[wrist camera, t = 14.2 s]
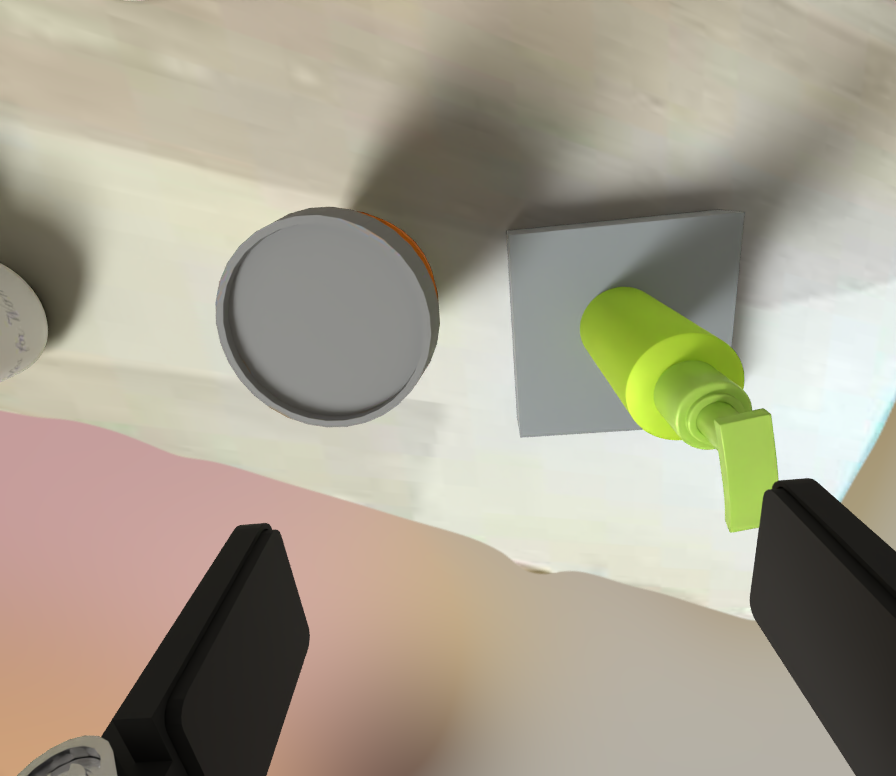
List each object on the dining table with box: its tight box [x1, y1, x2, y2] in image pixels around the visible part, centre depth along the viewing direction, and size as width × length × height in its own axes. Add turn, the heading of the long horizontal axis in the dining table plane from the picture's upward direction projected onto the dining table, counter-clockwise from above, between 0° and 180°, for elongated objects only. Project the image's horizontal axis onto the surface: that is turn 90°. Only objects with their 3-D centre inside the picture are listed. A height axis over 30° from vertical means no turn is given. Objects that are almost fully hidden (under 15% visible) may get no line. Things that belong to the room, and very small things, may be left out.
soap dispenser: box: [580, 287, 778, 532], centre depth 30 cm, size 6×7×20 cm
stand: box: [506, 210, 745, 437], centre depth 41 cm, size 16×16×4 cm
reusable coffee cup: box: [216, 207, 440, 427], centre depth 36 cm, size 13×13×15 cm
